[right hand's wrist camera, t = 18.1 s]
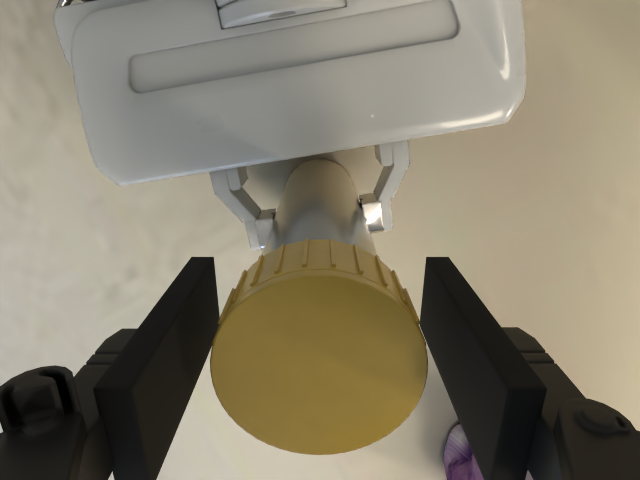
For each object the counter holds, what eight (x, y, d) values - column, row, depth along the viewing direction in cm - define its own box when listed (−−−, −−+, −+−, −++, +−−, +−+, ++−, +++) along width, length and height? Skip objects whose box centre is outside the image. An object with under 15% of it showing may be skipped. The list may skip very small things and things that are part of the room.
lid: (425, 376, 13) (446, 435, 11) (259, 410, 14) (246, 474, 12) (392, 215, 11) (410, 248, 9) (200, 261, 12) (172, 303, 10)
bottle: (294, 232, 29) (259, 436, 12) (277, 167, 27) (208, 298, 10) (360, 218, 28) (418, 408, 12) (346, 151, 27) (390, 260, 10)
